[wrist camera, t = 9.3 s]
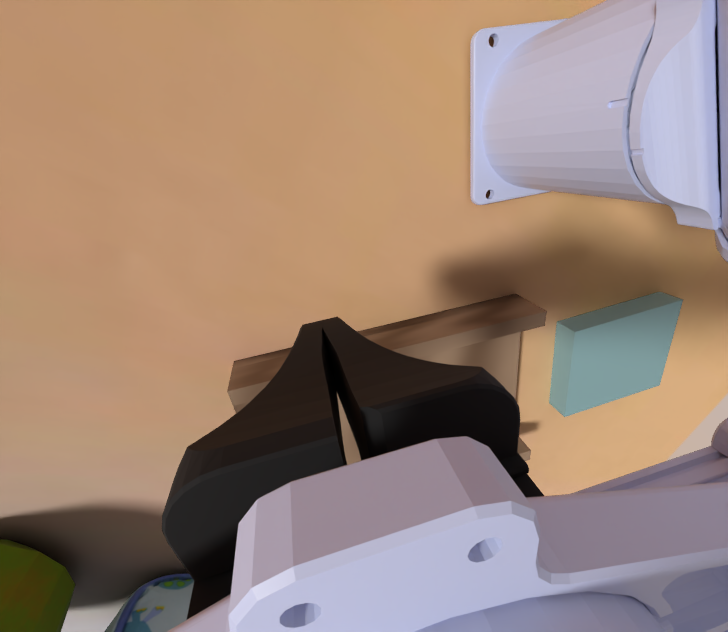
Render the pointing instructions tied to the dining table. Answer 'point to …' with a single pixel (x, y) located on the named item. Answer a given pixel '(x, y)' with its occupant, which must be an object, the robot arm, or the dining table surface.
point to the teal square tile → (612, 352)
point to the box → (424, 350)
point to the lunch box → (155, 605)
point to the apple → (32, 590)
